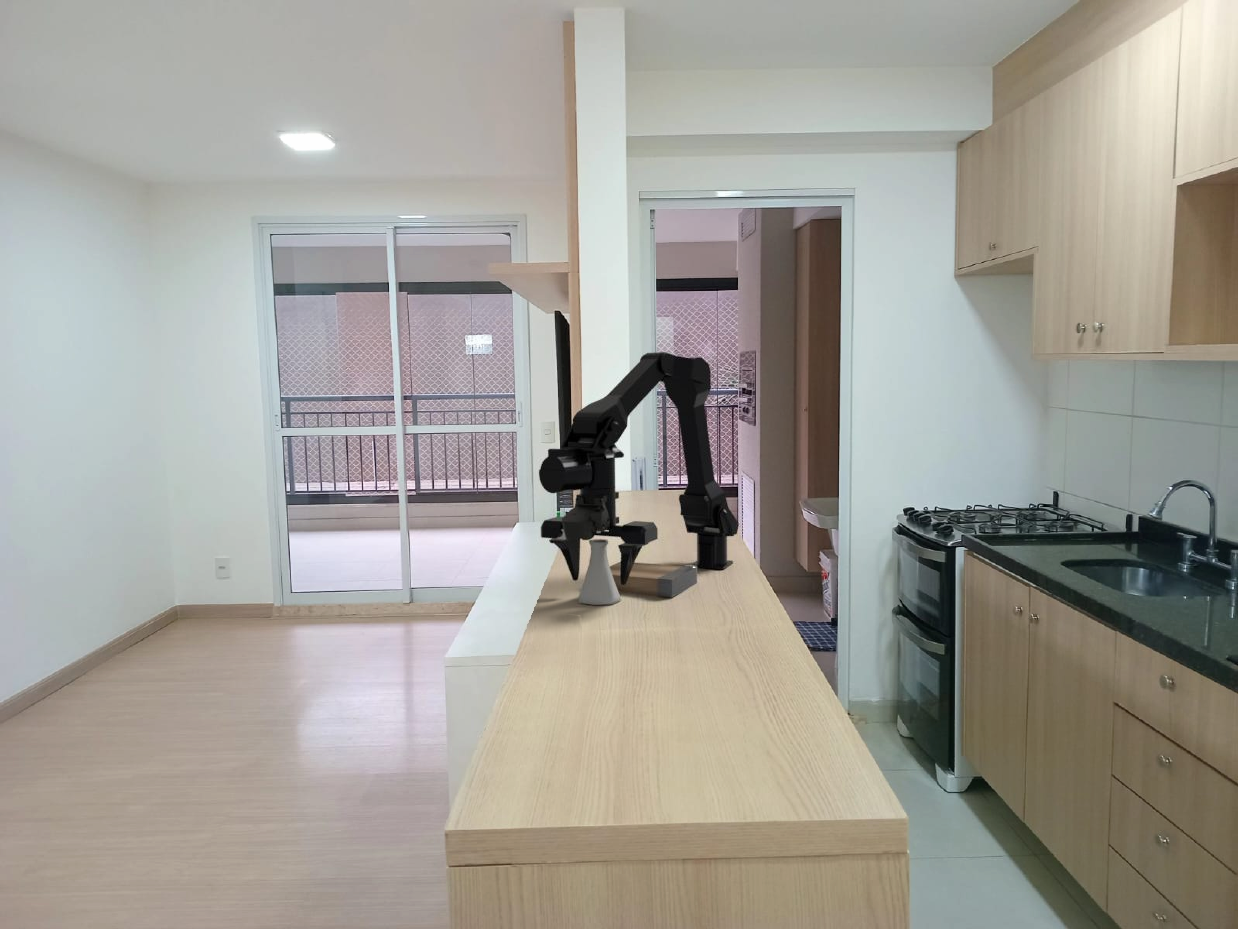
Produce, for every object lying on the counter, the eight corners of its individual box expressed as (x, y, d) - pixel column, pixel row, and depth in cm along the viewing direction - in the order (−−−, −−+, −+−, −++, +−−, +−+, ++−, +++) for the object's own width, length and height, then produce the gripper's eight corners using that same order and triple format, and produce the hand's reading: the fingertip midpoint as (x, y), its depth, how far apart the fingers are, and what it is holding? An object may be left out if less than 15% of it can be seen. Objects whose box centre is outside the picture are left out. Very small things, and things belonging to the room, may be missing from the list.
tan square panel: (621, 577, 157) (621, 561, 157) (682, 583, 152) (682, 566, 151) (594, 590, 147) (593, 573, 147) (658, 596, 142) (658, 579, 142)
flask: (616, 607, 136) (616, 545, 135) (572, 605, 137) (571, 544, 136) (625, 596, 143) (624, 537, 142) (583, 595, 144) (582, 536, 143)
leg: (686, 581, 152) (686, 564, 152) (699, 582, 151) (699, 565, 151) (658, 596, 141) (657, 578, 141) (672, 597, 140) (671, 579, 140)
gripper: (521, 490, 135) (524, 588, 136) (629, 495, 127) (630, 598, 128) (556, 483, 145) (558, 574, 146) (658, 487, 137) (659, 583, 138)
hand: (599, 582), depth 140 cm, fingers open, 8 cm apart
